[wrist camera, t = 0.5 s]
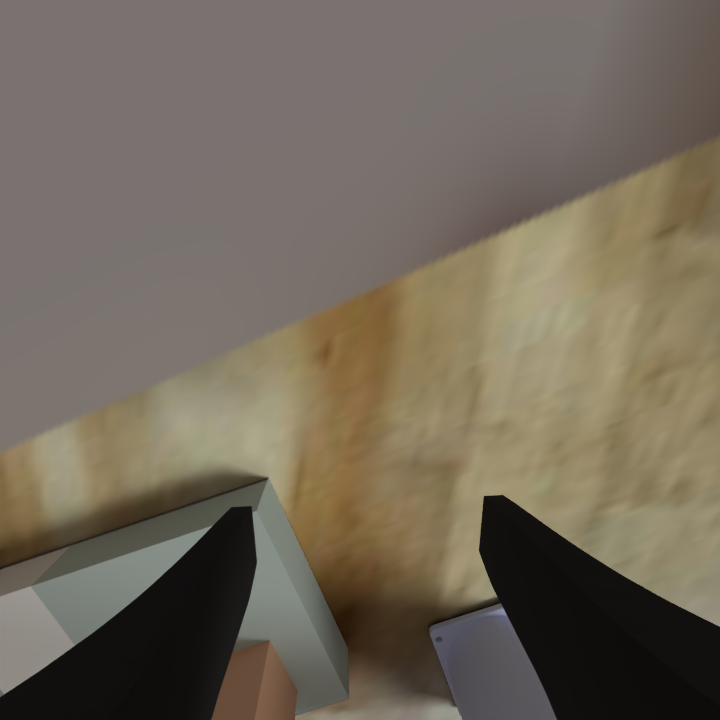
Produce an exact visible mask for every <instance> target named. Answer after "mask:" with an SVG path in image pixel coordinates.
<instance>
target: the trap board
mask: <svg viewBox="0 0 720 720" xmlns="http://www.w3.org/2000/svg"><path fill="white" fill-rule="evenodd" d="M242 506H252V514H253V524H254V534H255V545H256V555H257V566H256V571H255V576H254V581H253V585H252V590H251V595H250V599H249V602H248V606H247V609H246V612H245V615H244V618H243V621H242V624H241V628H240V631H239V634H238V637H237V640H236V643H235V646H234V649H233V652H235V651H238V650H241V649H244V648H247V647H250V646H253V645H256V644H259V643H262V642H266V641H269V640H270V641H271V643H272V645H273V647H274V649H275V651H276V652H277V654H278V656H279V658H280V660H281V662H282V663H283V665H284V667H285V669H286V671H287V673H288V674H289V676H290V678H291V680H292V682H293V684H294V685H295V687H296V689H297V700H296V710H295V716H297V715H300V714H303V713H306V712H309V711H312V710H316V709H319V708H322V707H325V706H328V705H331V704H335V703H338V702H341V701H344V700H347V699H349V667H348V647H347V645H346V643H345V641H344V639H343V637H342V635H341V632H340V630H339V628H338V626H337V624H336V622H335V620H334V617H333V615H332V613H331V611H330V609H329V607H328V605H327V603H326V600H325V598H324V596H323V594H322V592H321V590H320V588H319V585H318V583H317V581H316V579H315V577H314V575H313V573H312V570H311V568H310V566H309V564H308V562H307V560H306V558H305V555H304V553H303V551H302V549H301V547H300V545H299V543H298V541H297V538H296V536H295V534H294V532H293V530H292V528H291V526H290V523H289V521H288V519H287V517H286V515H285V513H284V511H283V508H282V506H281V504H280V502H279V500H278V498H277V496H276V494H275V491H274V489H273V487H272V485H271V483H270V481H269V479H268V478H267V479H264V480H261V481H258V482H255V483H252V484H249V485H246V486H243V487H240V488H237V489H234V490H231V491H228V492H225V493H222V494H219V495H216V496H213V497H210V498H207V499H204V500H201V501H198V502H195V503H192V504H189V505H186V506H183V507H180V508H177V509H174V510H172V511H169V512H166V513H163V514H160V515H157V516H154V517H151V518H148V519H145V520H142V521H139V522H136V523H133V524H130V525H127V526H124V527H121V528H118V529H115V530H112V531H109V532H106V533H103V534H100V535H97V536H94V537H91V538H88V539H85V540H82V541H79V542H76V543H73V544H70V545H67V546H64V547H61V548H58V549H55V550H52V551H49V552H46V553H43V554H41V555H38V556H35V557H32V558H29V559H26V560H23V561H20V562H17V563H14V564H11V565H8V566H5V567H2V568H0V697H1V696H2V695H4V694H6V693H7V692H9V691H10V690H12V689H13V688H15V687H16V686H18V685H19V684H21V683H22V682H24V681H25V680H27V679H28V678H30V677H31V676H33V675H34V674H36V673H37V672H39V671H40V670H42V669H43V668H44V667H46V666H47V665H49V664H50V663H51V662H53V661H54V660H56V659H57V658H58V657H60V656H61V655H63V654H64V653H65V652H67V651H68V650H70V649H71V648H72V647H74V646H75V645H76V644H78V643H79V642H81V641H82V640H83V639H85V638H86V637H88V636H89V635H90V634H92V633H93V632H94V631H96V630H97V629H98V628H100V627H101V626H102V625H104V624H105V623H106V622H107V621H109V620H110V619H111V618H112V617H114V616H115V615H116V614H117V613H119V612H120V611H121V610H123V609H124V608H125V607H126V606H127V605H129V604H130V603H131V602H132V601H133V600H135V599H136V598H137V597H138V596H139V595H141V594H142V593H143V592H144V591H145V590H146V589H148V588H149V587H150V586H151V585H152V584H153V583H154V582H155V581H156V580H157V579H159V578H160V577H161V576H162V575H163V574H164V573H165V572H166V571H167V570H168V569H169V568H171V567H172V566H173V565H174V564H175V563H176V562H177V561H178V560H179V559H180V558H181V557H182V556H183V555H184V554H185V553H186V552H187V551H188V550H189V549H190V548H191V547H192V546H193V545H194V544H195V543H196V542H197V541H198V540H199V539H200V538H201V537H202V536H203V535H204V534H205V533H206V532H207V531H208V530H209V529H210V528H211V527H212V526H213V525H214V524H215V523H216V522H217V521H218V520H219V519H220V518H221V517H222V516H223V515H224V514H225V513H226V512H227V511H228V510H229V509H230V508H231V507H242Z"/></svg>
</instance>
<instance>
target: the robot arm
mask: <svg viewBox="0 0 720 720" xmlns="http://www.w3.org/2000/svg"><path fill="white" fill-rule="evenodd" d="M479 552H480V555H481V558H482V560H483V563H484V566H485V569H486V571H487V574H488V577H489V579H490V582H491V584H492V586H493V589H494V591H495V593H496V595H497V597H498V599H499V601H500V604H497V605H494V606H491V607H487V608H484V609H481V610H478V611H475V612H472V613H469V614H466V615H462V616H459V617H456V618H453V619H450V620H447V621H444V622H441V623H438V624H434V625H432V626H431V627H430V629H429V633H430V637H431V639H432V642H433V645H434V647H435V650H436V653H437V655H438V658H439V661H440V663H441V666H442V669H443V671H444V674H445V677H446V679H447V682H448V685H449V687H450V690H451V693H452V695H453V698H454V701H455V703H456V706H457V708H458V711H459V714H460V715H461V717H462V720H720V627H719V626H717V625H715V624H713V623H711V622H709V621H707V620H705V619H703V618H701V617H699V616H697V615H695V614H693V613H691V612H689V611H687V610H685V609H683V608H681V607H679V606H677V605H675V604H673V603H671V602H669V601H667V600H665V599H663V598H661V597H660V596H658V595H656V594H654V593H652V592H651V591H649V590H647V589H645V588H644V587H642V586H640V585H638V584H636V583H635V582H633V581H631V580H629V579H628V578H626V577H624V576H622V575H621V574H619V573H617V572H616V571H614V570H612V569H611V568H609V567H608V566H606V565H604V564H603V563H601V562H600V561H598V560H597V559H595V558H593V557H592V556H590V555H589V554H587V553H586V552H584V551H583V550H581V549H580V548H578V547H577V546H575V545H574V544H572V543H571V542H569V541H568V540H566V539H565V538H563V537H562V536H560V535H559V534H558V533H556V532H555V531H553V530H552V529H550V528H549V527H548V526H546V525H545V524H543V523H542V522H541V521H539V520H538V519H536V518H535V517H534V516H532V515H531V514H529V513H528V512H527V511H525V510H524V509H522V508H521V507H520V506H518V505H517V504H515V503H514V502H512V501H511V500H510V499H508V498H506V497H505V496H503V495H496V496H484V501H483V512H482V523H481V534H480V545H479ZM256 566H257V555H256V545H255V534H254V524H253V514H252V506H242V507H231V508H230V509H229V510H228V511H227V512H226V513H225V514H224V515H223V516H222V517H221V518H220V519H219V520H218V521H217V522H216V523H215V524H214V525H213V526H212V527H211V528H210V529H209V530H208V531H207V532H206V533H205V534H204V535H203V536H202V537H201V538H200V539H199V540H198V541H197V542H196V543H195V544H194V545H193V546H192V547H191V548H190V549H189V550H188V551H187V552H186V553H185V554H184V555H183V556H182V557H181V558H180V559H179V560H178V561H177V562H176V563H175V564H174V565H173V566H172V567H171V568H169V569H168V570H167V571H166V572H165V573H164V574H163V575H162V576H161V577H160V578H159V579H157V580H156V581H155V582H154V583H153V584H152V585H151V586H150V587H149V588H148V589H146V590H145V591H144V592H143V593H142V594H141V595H139V596H138V597H137V598H136V599H135V600H133V601H132V602H131V603H130V604H129V605H127V606H126V607H125V608H124V609H123V610H121V611H120V612H119V613H117V614H116V615H115V616H114V617H112V618H111V619H110V620H109V621H107V622H106V623H105V624H104V625H102V626H101V627H100V628H98V629H97V630H96V631H94V632H93V633H92V634H90V635H89V636H88V637H86V638H85V639H83V640H82V641H81V642H79V643H78V644H76V645H75V646H74V647H72V648H71V649H70V650H68V651H67V652H65V653H64V654H63V655H61V656H60V657H58V658H57V659H56V660H54V661H53V662H51V663H50V664H49V665H47V666H46V667H44V668H43V669H42V670H40V671H39V672H37V673H36V674H34V675H33V676H31V677H30V678H28V679H27V680H25V681H24V682H22V683H21V684H19V685H18V686H16V687H15V688H13V689H12V690H10V691H9V692H7V693H6V694H4V695H2V696H1V697H0V720H212V716H213V713H214V709H215V706H216V702H217V699H218V695H219V692H220V689H221V686H222V683H223V680H224V677H225V674H226V671H227V668H228V664H229V661H230V658H231V655H232V652H233V649H234V646H235V643H236V640H237V637H238V634H239V631H240V628H241V624H242V621H243V618H244V615H245V612H246V609H247V606H248V602H249V599H250V595H251V590H252V585H253V581H254V576H255V571H256Z"/></svg>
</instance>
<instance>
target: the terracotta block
mask: <svg viewBox="0 0 720 720" xmlns="http://www.w3.org/2000/svg"><path fill="white" fill-rule="evenodd" d="M296 700H297V689H296V687H295V685H294V684H293V682H292V680H291V678H290V676H289V674H288V673H287V671H286V669H285V667H284V665H283V663H282V662H281V660H280V658H279V656H278V654H277V652H276V651H275V649H274V647H273V645H272V643H271V641H270V640H269V641H266V642H262V643H259V644H256V645H253V646H250V647H247V648H244V649H241V650H238V651H235V652H232V655H231V658H230V661H229V664H228V668H227V671H226V674H225V677H224V680H223V683H222V686H221V689H220V692H219V695H218V699H217V702H216V706H215V709H214V713H213V716H212V720H295V710H296Z"/></svg>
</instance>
